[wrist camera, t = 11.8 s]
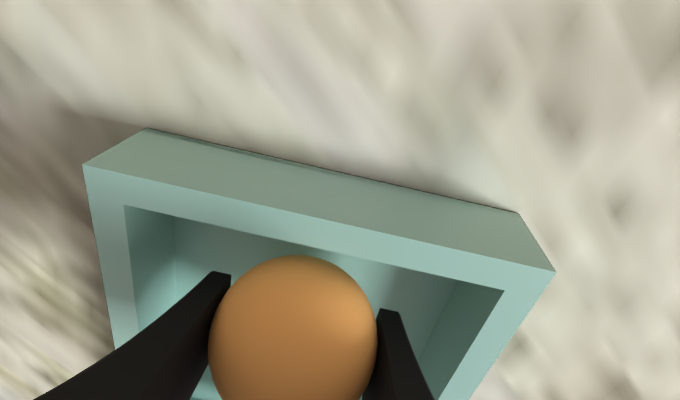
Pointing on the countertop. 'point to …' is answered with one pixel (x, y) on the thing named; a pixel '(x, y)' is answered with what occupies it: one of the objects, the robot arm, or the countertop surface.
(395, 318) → the robot arm
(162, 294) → the tray
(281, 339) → the ball
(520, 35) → the countertop surface
